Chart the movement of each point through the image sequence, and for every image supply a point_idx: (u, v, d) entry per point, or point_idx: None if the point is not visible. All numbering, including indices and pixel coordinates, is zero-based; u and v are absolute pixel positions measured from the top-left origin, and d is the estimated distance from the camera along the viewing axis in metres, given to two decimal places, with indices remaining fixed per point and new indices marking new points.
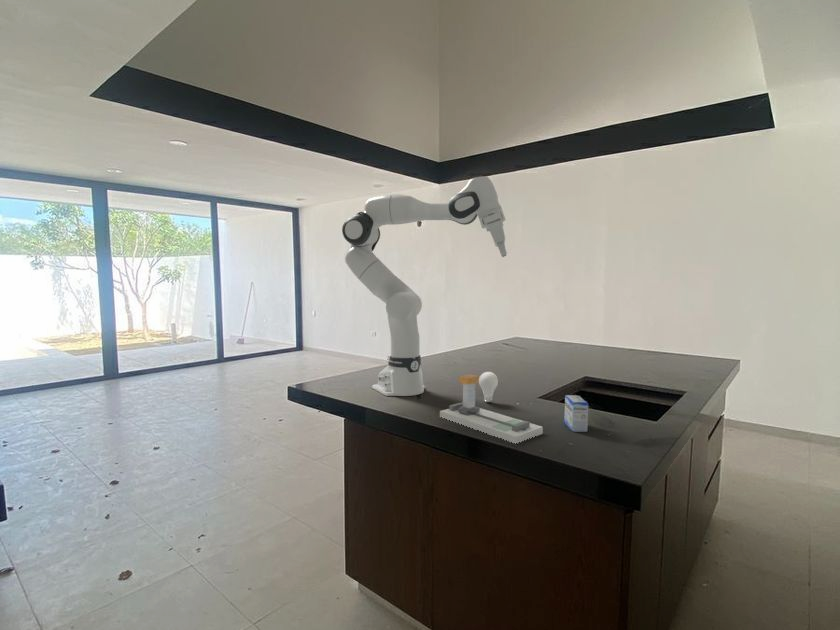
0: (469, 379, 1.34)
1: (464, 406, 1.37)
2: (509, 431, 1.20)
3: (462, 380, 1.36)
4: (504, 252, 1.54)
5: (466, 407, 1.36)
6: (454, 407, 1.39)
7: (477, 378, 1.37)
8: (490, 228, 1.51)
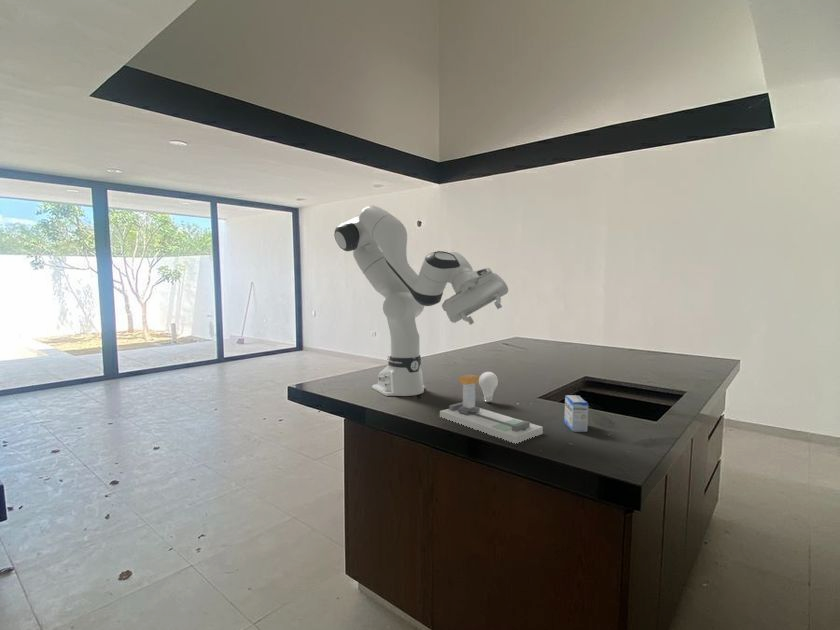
0: (469, 379, 1.34)
1: (464, 406, 1.37)
2: (509, 431, 1.20)
3: (462, 380, 1.36)
4: (500, 304, 1.30)
5: (466, 407, 1.36)
6: (454, 407, 1.39)
7: (477, 378, 1.37)
8: None
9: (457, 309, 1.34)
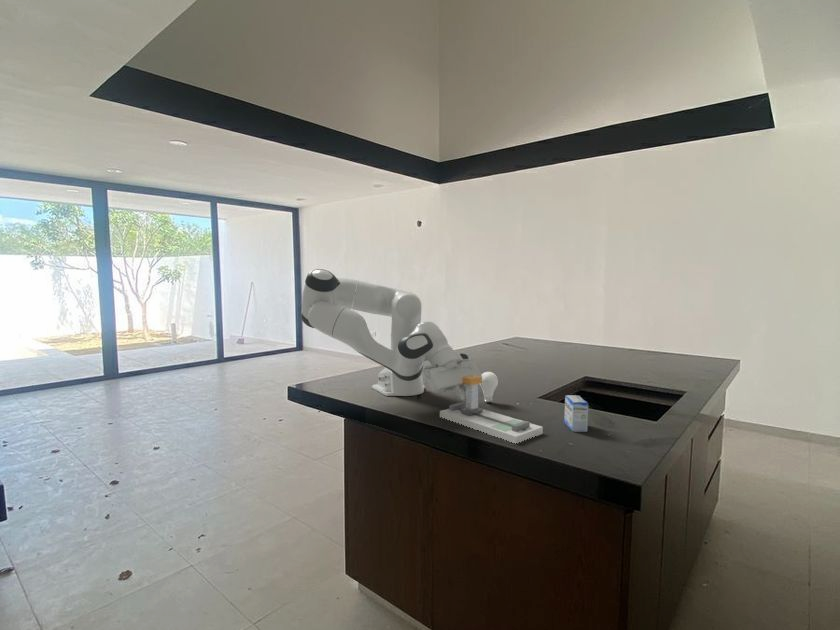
0: (472, 380, 1.33)
1: (467, 407, 1.36)
2: (509, 431, 1.20)
3: (465, 381, 1.35)
4: None
5: (469, 408, 1.35)
6: (454, 407, 1.39)
7: (480, 379, 1.36)
8: None
9: (445, 382, 1.35)
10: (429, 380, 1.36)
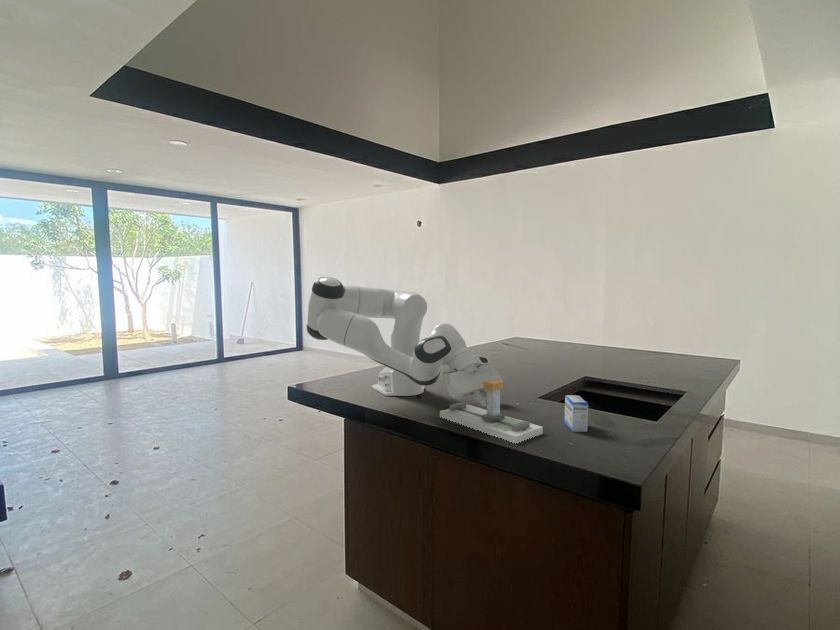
0: (494, 385, 1.27)
1: (488, 413, 1.29)
2: (509, 431, 1.20)
3: (487, 386, 1.28)
4: None
5: (491, 415, 1.29)
6: (454, 407, 1.39)
7: (502, 384, 1.29)
8: None
9: (465, 388, 1.29)
10: (448, 385, 1.29)
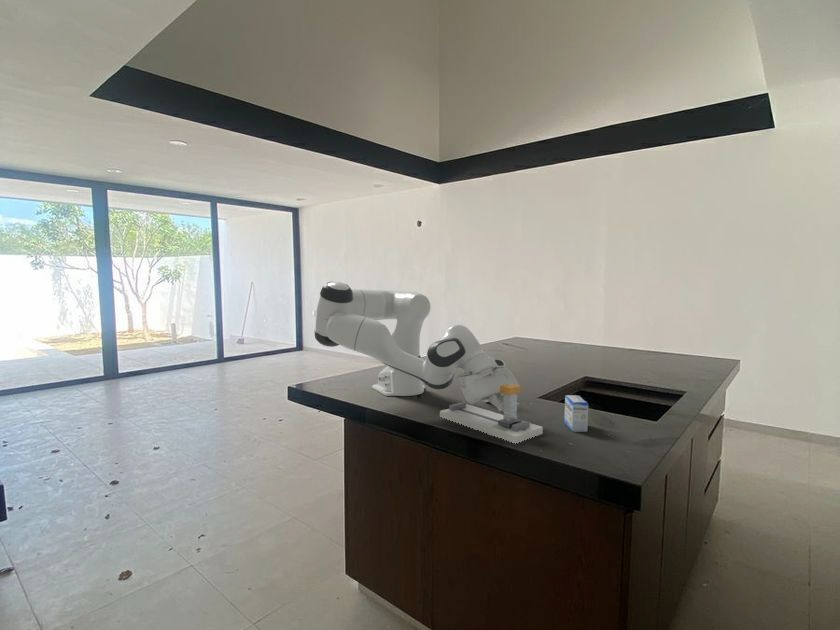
0: (511, 389, 1.22)
1: (505, 419, 1.24)
2: (509, 431, 1.20)
3: (504, 390, 1.23)
4: None
5: (507, 420, 1.24)
6: (454, 407, 1.39)
7: (519, 388, 1.24)
8: None
9: (481, 392, 1.24)
10: (464, 389, 1.25)
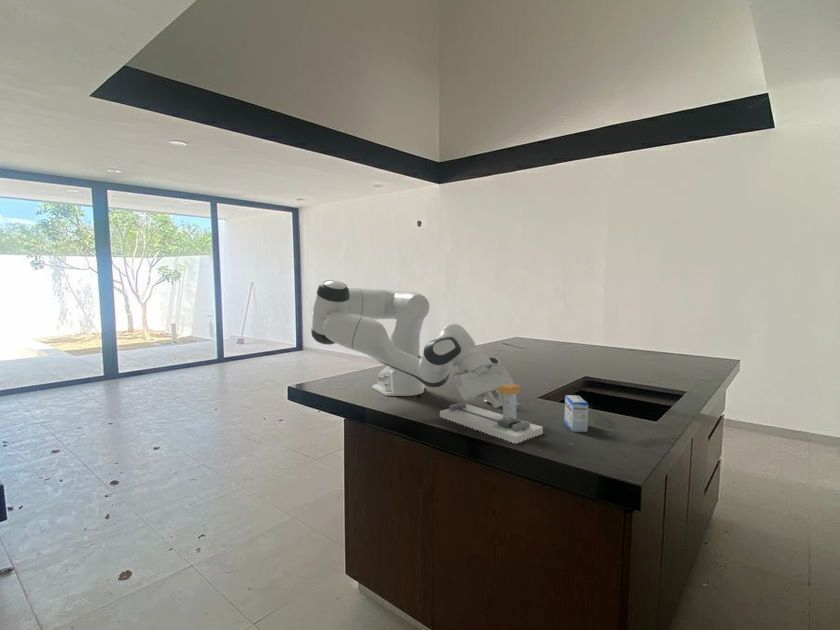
0: (511, 389, 1.22)
1: (504, 418, 1.25)
2: (509, 431, 1.20)
3: (503, 390, 1.23)
4: None
5: (507, 420, 1.24)
6: (454, 407, 1.39)
7: (519, 388, 1.24)
8: None
9: (477, 389, 1.27)
10: (460, 387, 1.27)
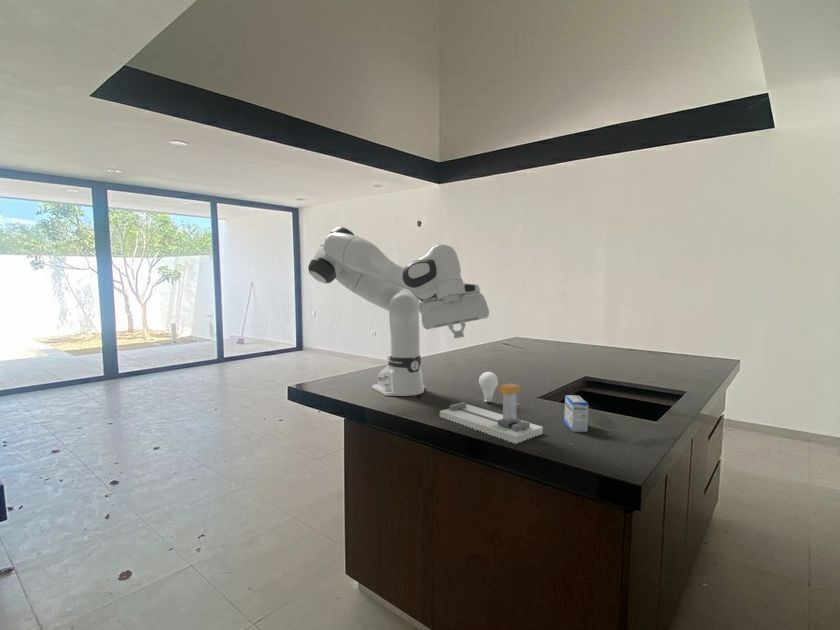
0: (511, 389, 1.22)
1: (504, 418, 1.25)
2: (509, 431, 1.20)
3: (503, 390, 1.23)
4: None
5: (507, 420, 1.24)
6: (454, 407, 1.39)
7: (519, 388, 1.24)
8: None
9: (433, 320, 1.30)
10: None
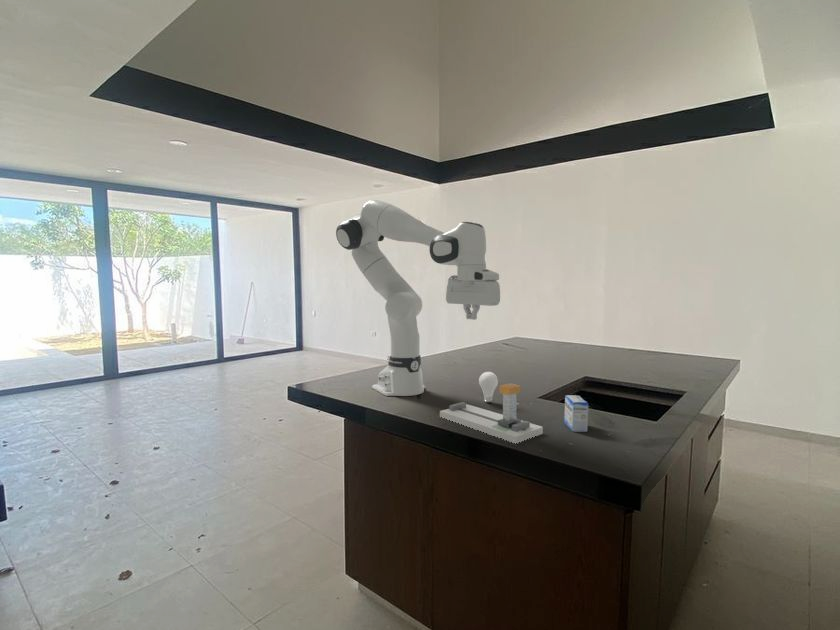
0: (511, 389, 1.22)
1: (504, 418, 1.25)
2: (509, 431, 1.20)
3: (503, 390, 1.23)
4: (475, 316, 1.36)
5: (507, 420, 1.24)
6: (454, 407, 1.39)
7: (519, 388, 1.24)
8: (491, 287, 1.28)
9: (452, 299, 1.41)
10: None
